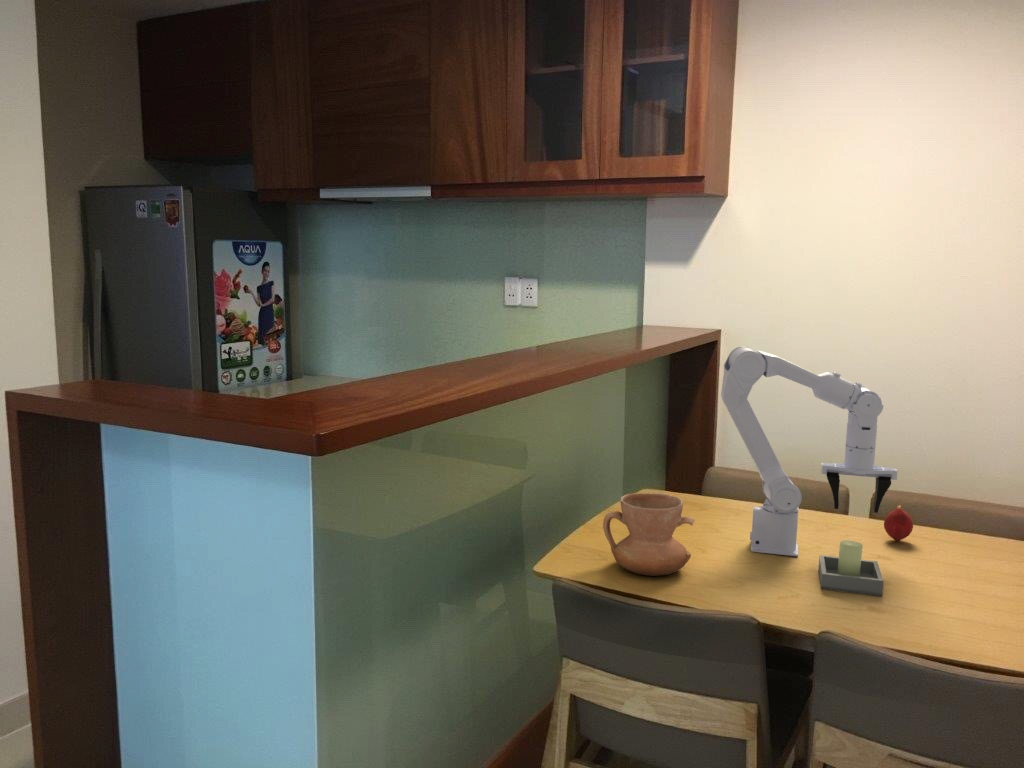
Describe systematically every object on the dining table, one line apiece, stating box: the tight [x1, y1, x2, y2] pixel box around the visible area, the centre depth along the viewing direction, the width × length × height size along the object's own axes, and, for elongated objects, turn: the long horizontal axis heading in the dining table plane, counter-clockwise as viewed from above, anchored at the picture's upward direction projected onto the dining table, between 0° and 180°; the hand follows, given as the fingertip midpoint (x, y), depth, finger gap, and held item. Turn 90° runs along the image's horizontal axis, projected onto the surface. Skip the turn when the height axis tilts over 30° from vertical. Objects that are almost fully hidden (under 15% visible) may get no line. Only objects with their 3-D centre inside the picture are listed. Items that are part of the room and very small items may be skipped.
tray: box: [818, 554, 885, 597], centre depth 160 cm, size 11×11×3 cm
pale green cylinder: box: [837, 540, 863, 577], centre depth 160 cm, size 4×4×7 cm
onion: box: [883, 504, 914, 542], centre depth 184 cm, size 6×6×8 cm
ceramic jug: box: [602, 492, 696, 577], centre depth 166 cm, size 18×14×14 cm
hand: (855, 509), depth 176 cm, fingers open, 7 cm apart
